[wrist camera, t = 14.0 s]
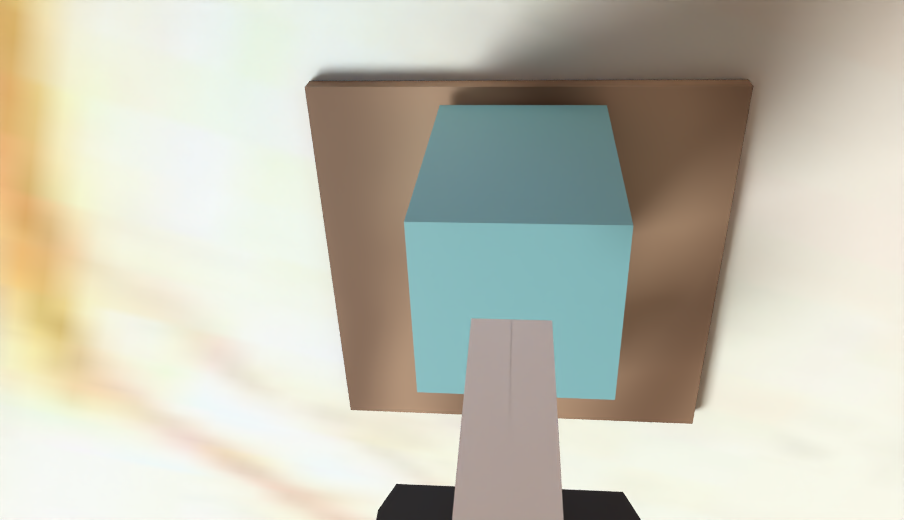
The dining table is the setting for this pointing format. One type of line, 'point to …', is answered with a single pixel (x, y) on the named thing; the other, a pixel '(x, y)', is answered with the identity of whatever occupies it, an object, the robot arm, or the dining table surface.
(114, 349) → the dining table surface
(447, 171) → the teal rectangular prism
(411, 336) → the stand
